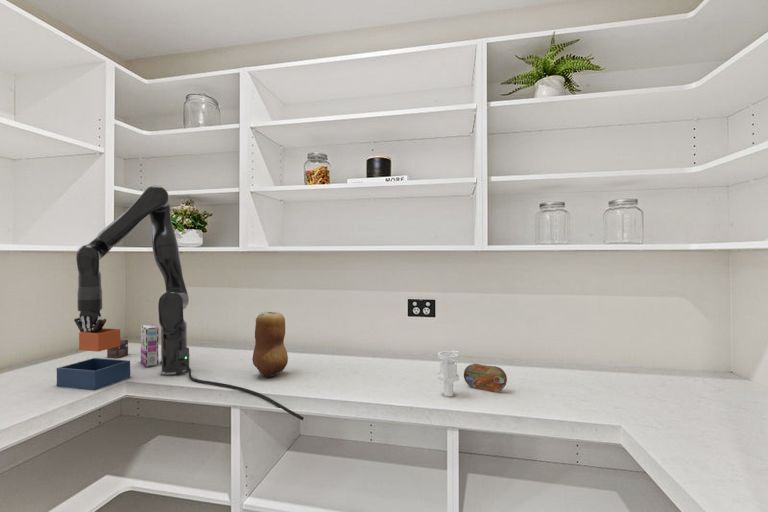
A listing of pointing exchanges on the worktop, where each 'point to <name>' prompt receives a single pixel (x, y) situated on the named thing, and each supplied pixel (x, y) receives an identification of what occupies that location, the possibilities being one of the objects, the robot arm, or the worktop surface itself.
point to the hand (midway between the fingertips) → (90, 343)
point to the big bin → (93, 373)
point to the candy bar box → (149, 345)
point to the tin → (485, 377)
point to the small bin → (99, 340)
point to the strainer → (448, 370)
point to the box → (118, 350)
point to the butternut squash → (270, 344)
